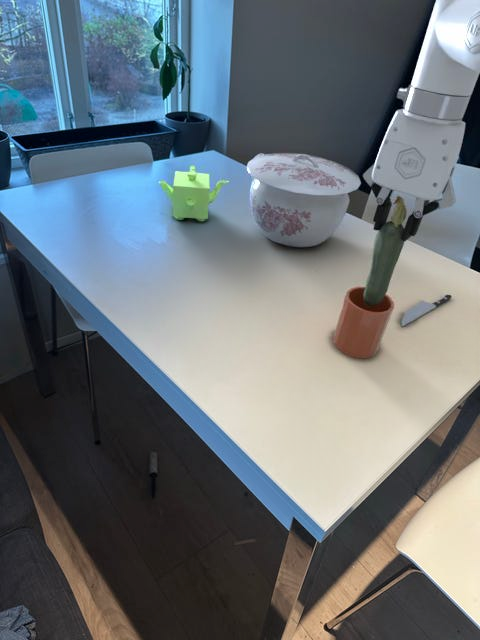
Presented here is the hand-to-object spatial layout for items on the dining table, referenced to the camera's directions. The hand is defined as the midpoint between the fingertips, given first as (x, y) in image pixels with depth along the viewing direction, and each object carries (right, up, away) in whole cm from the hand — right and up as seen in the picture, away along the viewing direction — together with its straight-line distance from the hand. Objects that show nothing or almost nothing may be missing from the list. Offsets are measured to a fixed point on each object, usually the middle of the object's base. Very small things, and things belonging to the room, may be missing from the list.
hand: (392, 231), depth 69 cm
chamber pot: (-10, +9, +48) cm, 50 cm away
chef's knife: (+15, -12, +25) cm, 31 cm away
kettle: (-36, +15, +52) cm, 65 cm away
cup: (-2, -18, +14) cm, 23 cm away
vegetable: (-2, -12, +9) cm, 15 cm away
